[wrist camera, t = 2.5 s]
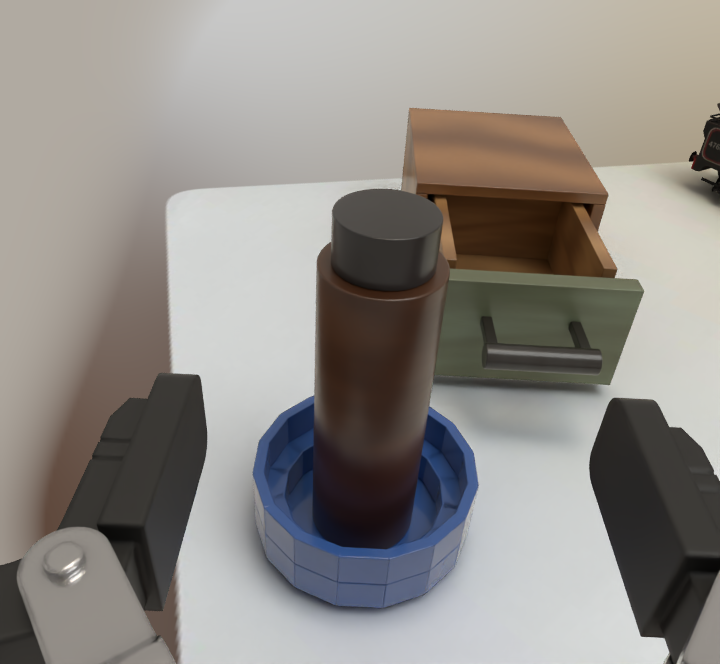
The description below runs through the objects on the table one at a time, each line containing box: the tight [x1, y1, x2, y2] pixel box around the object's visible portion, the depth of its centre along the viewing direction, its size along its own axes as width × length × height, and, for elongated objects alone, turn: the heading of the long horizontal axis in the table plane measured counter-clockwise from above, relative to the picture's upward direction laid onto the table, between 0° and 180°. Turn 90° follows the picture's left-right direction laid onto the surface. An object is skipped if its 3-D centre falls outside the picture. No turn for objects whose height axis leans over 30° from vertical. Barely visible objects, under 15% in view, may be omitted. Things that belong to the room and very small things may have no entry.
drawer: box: [429, 194, 644, 385], centre depth 42 cm, size 17×11×7 cm, turn 179°
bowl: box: [253, 396, 479, 608], centre depth 32 cm, size 10×10×4 cm
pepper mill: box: [312, 189, 450, 549], centre depth 28 cm, size 5×5×16 cm
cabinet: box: [401, 108, 608, 232], centre depth 53 cm, size 15×13×9 cm
